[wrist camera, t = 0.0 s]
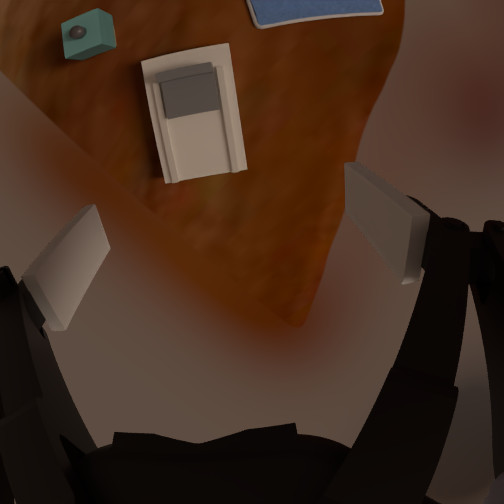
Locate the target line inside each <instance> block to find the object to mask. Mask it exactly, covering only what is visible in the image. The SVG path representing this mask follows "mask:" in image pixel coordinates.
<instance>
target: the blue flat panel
mask: <svg viewBox="0 0 504 504" xmlns="http://www.w3.org/2000/svg"><path fill="white" fill-rule="evenodd" d="M246 2H247V5H248V8H249V11H250V14H251V17H252V20H253V23H254V25H255V27H256V28H258V29H265V28H269V27H274V26H279V25H285V24H290V23H296V22H303V21H310V20H318V19H327V18H337V17H349V16H368V15H381V14H382V13H383V6H382V3H381V0H246Z"/></svg>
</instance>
